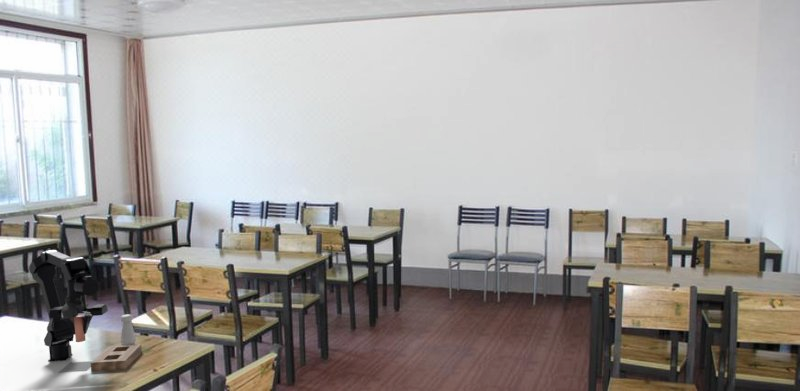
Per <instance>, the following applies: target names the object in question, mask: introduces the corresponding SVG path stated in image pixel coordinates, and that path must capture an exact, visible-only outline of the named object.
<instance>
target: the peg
mask: <svg viewBox="0 0 800 391" xmlns="http://www.w3.org/2000/svg"><path fill="white" fill-rule="evenodd" d="M83 316H84V315H83V314H82V315H77V316H76V317H74V326H75V336H74V337H75V342H76V343H82V342H84V341H86V340H87V339H86V334H84V328H83V319H82V317H83Z"/></svg>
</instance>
